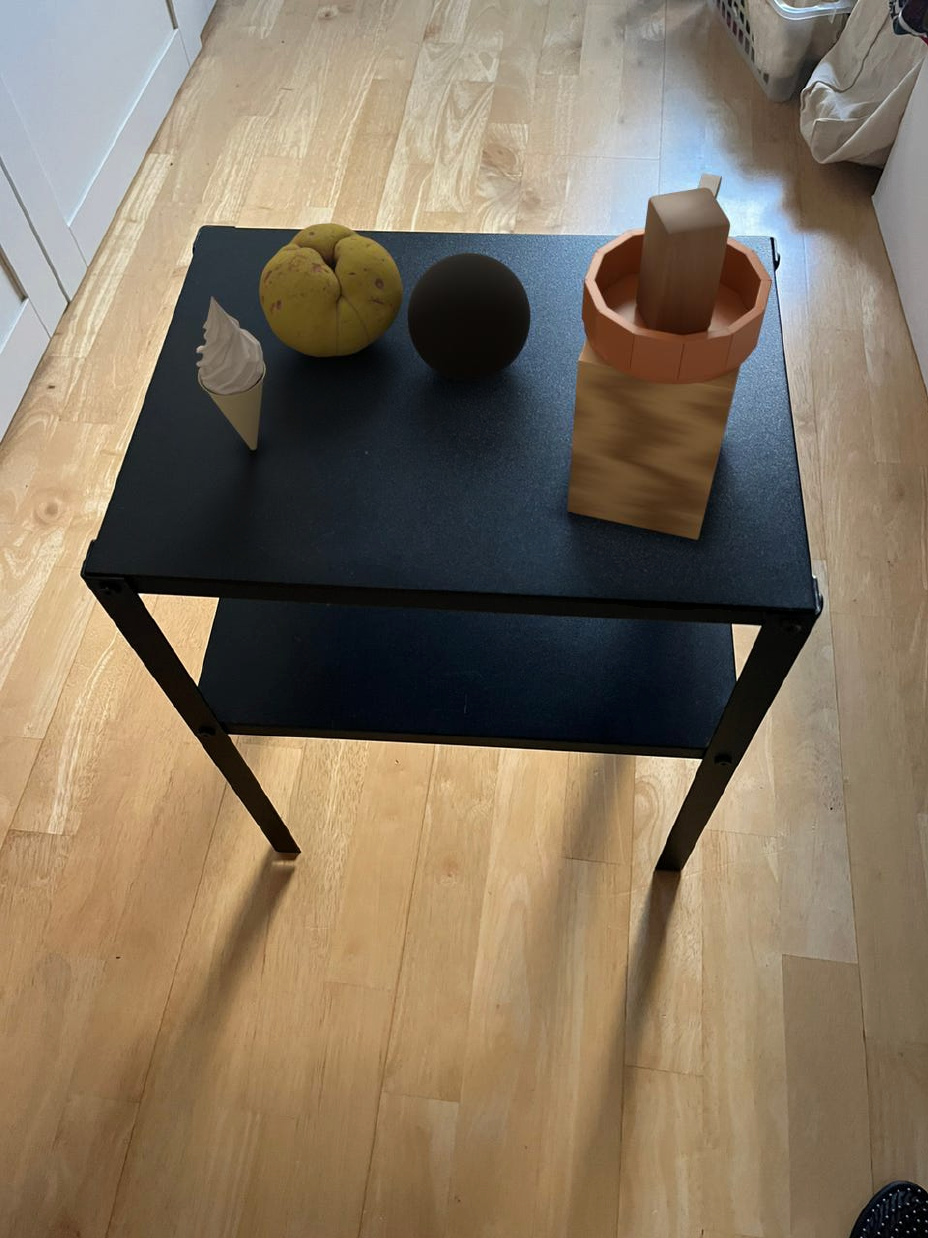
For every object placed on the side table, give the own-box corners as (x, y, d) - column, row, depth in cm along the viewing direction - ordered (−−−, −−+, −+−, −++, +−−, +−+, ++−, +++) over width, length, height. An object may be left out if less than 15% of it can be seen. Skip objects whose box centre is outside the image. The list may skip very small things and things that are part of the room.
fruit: (272, 305, 94) (249, 207, 86) (401, 291, 94) (391, 192, 86) (274, 391, 88) (249, 293, 80) (412, 375, 88) (402, 277, 80)
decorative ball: (465, 310, 93) (461, 211, 84) (553, 359, 89) (558, 260, 80) (388, 370, 89) (375, 272, 80) (476, 424, 85) (472, 326, 76)
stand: (721, 445, 82) (758, 289, 70) (697, 540, 77) (733, 389, 65) (598, 420, 84) (613, 265, 72) (567, 511, 79) (577, 360, 67)
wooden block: (633, 302, 69) (646, 193, 62) (691, 292, 69) (710, 183, 63) (652, 341, 67) (668, 233, 60) (711, 331, 67) (733, 222, 61)
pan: (743, 399, 64) (754, 356, 61) (564, 365, 67) (566, 322, 64) (785, 223, 74) (797, 178, 71) (628, 199, 76) (633, 154, 73)
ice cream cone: (281, 470, 83) (241, 319, 70) (218, 471, 83) (167, 320, 70) (288, 425, 85) (251, 272, 73) (227, 425, 86) (180, 273, 73)
